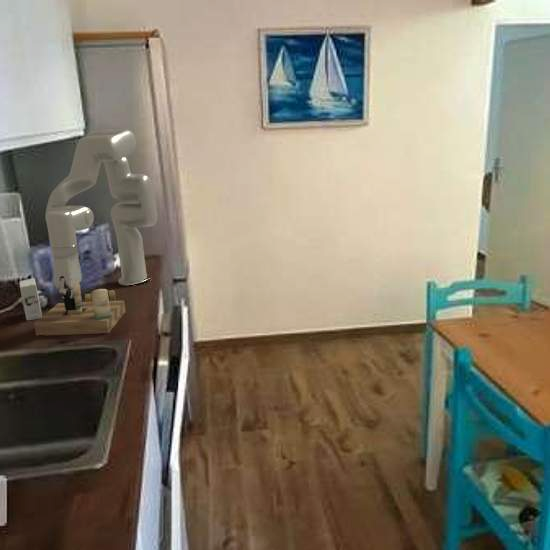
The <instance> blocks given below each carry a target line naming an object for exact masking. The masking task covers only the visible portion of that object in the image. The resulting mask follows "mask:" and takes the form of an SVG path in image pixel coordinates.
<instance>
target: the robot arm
mask: <svg viewBox="0 0 550 550" xmlns="http://www.w3.org/2000/svg"><path fill="white" fill-rule="evenodd" d="M136 147H137V139H136V136H135V134H134V133H133V131H131V130H129V129H103V130H102V129H101V130H100V129H99V130H94V131H90V132H88V133H87V134H86V136H83V137H81V138H80V139H79V140H78V142H77V144H76V148H75V151H74V155H73V156H74V157H73V160H72V163H71V168H70V171H69V174H68V175H67V177H65V178H64V179H62V181H60V182H59V184H58V185H57V186H56V187H55V188H54V189H53V191H52V192H51V194H50V196H49V197H48V201H47V205H46V209H45V222H46V226H47V231H48V238H49V245H50V249H51V255H52V258H53V261H52V263H53V275H54V284H55V289H56V290H59V294H60V295H61V297H62V299H63V303H64V304H65V310H76V304H75V298H74V297H73V288H74V287H75V285H76V282H77V281H79V286H80V293H81V299H82V303H83V302H84V301H83V296H82V288H81V287H82V286H81V282H82V280H83V279H82V278H83V275H82V268H81V264H80V260H79V256H78V255H79V248H78V241H77V234H76V232H77V231H83V230H84V231H85V230H87V229H89V228H91V226H93V223H94V219H95V216H94V212H93V210H91V208H90V207H87V206H85V205H66V204H67V203H68V201H70V200H71V199H72V198H74V197H75V196H76V195H78V194H80V193H82V192H85V191H87V190H89V189H91V188H93V187H94V186H95V185H96V184H97V181H98V179H99V178H98V176H99V174H100V168H101V165H102V163H103V164H104V169H105V172H106V173H105V174H106V176H107V182H108V186H109V187H108V188H109V191H110V194H111V196H112V198H113V199H115V200H121V201H122V200H123V201H125V202H118V203H116V204H114V205H113V206H112V207H111V210H110V218H111V221H112V224H113V227H114V231H115V236H116V241H117V243H116V244H117V249H118V256H119V265H120V271H121V277H120V278H119V279H118V281H117V282H118V284H119V285H121V286H125V287H126V286H129V285H133V286H135V285H134V284H138V283H141V282H144V281H146V280H148V279H150V278H148V279H146V278H147V275H148V274H147V268H146V267H147V266H146V260H145V251H144V242H143V236H142V234H141V232H140V231H139V229H138V228H151V227H154V226H155V225H156V224H157V222H158V217H159V216H158V209H157V208H158V207H157V201H156V196H155V191H154V185H153V182H152V179H151V178H150V177H149V176H148V175H147V174H144V173H132V172H131V169H130V165H129V161H128V158H127V157H129V156H130V155H132V154H133V153H134V151H135V149H136ZM130 200H131V201H130ZM132 200H137V202H135V201H132ZM127 201H129V202H127ZM144 279H145V280H144ZM66 286H69V287H68V288H66ZM66 290H69V291H70V293H69V292H67V291H66Z"/></svg>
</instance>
